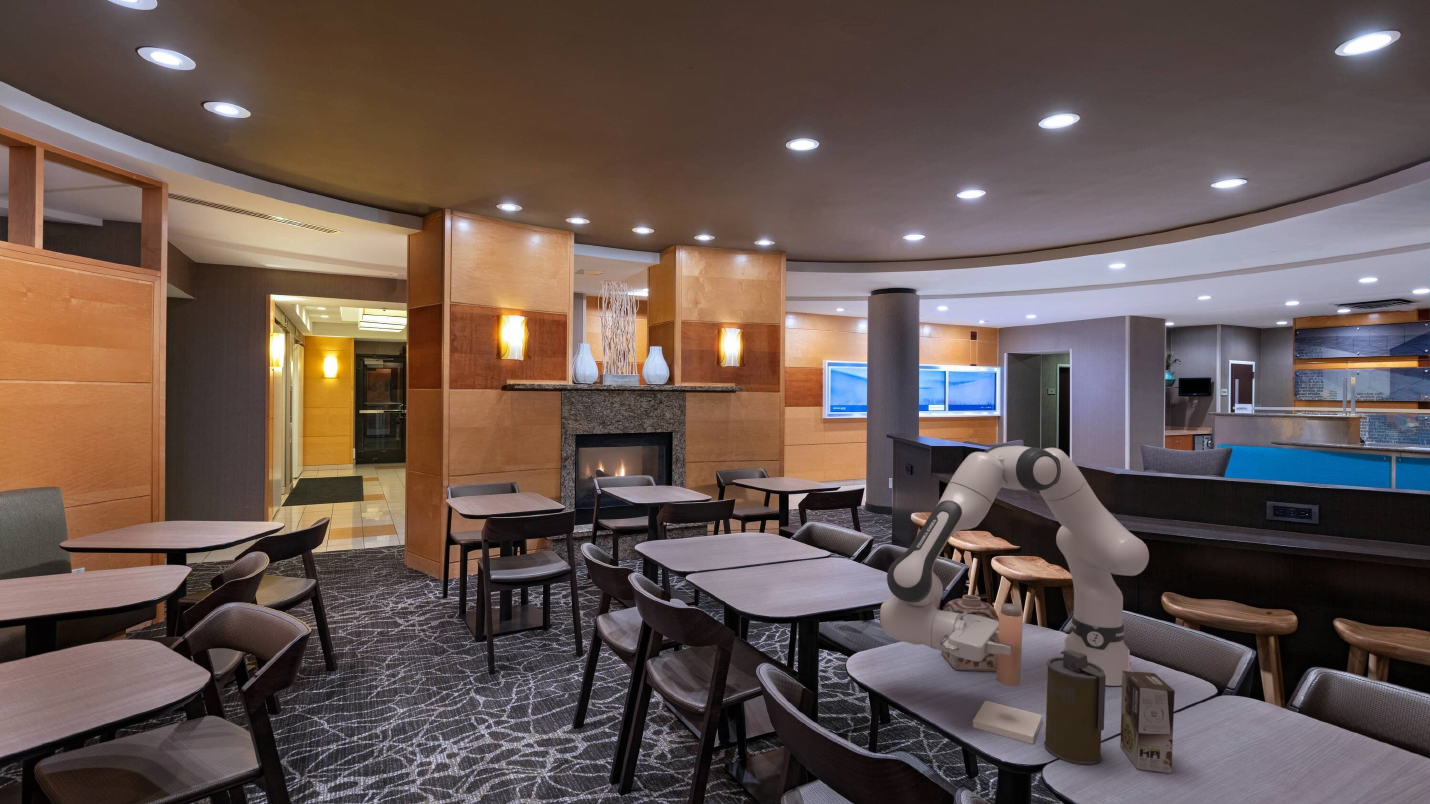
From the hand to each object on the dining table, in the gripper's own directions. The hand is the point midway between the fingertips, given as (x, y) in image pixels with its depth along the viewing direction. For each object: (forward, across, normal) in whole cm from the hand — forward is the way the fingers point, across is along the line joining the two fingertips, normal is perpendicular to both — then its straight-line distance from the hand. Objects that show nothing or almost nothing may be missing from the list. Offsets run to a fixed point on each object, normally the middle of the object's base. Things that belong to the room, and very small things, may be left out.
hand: (1014, 646), depth 149 cm
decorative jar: (-16, +31, +18) cm, 39 cm away
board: (-1, 0, +18) cm, 18 cm away
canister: (+13, -4, +18) cm, 22 cm away
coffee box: (+25, +1, +18) cm, 30 cm away
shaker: (-1, 0, +8) cm, 8 cm away
